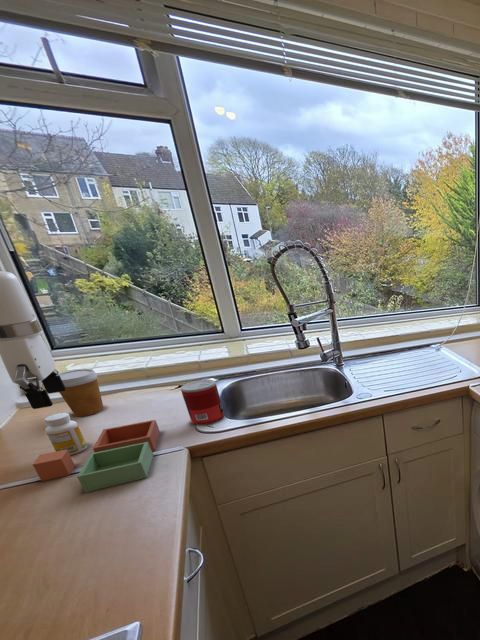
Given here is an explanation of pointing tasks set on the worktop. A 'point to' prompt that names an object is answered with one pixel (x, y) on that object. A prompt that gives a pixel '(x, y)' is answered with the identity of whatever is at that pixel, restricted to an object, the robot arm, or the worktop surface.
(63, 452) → the terracotta block
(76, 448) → the supplement bottle
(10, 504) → the worktop surface
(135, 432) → the terracotta bin
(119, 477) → the green bin
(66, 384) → the disposable coffee cup
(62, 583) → the worktop surface
